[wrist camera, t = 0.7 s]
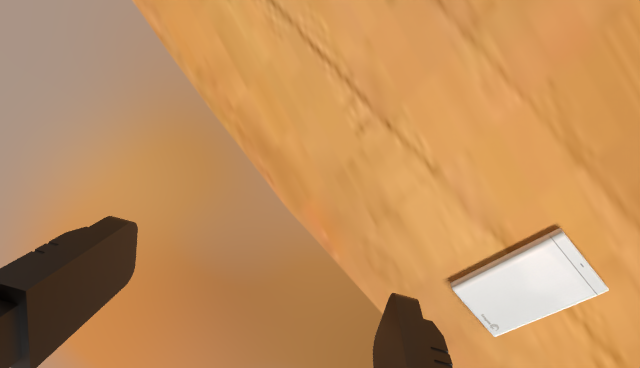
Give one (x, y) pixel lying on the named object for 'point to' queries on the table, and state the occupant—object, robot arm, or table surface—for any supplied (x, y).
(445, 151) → the table surface
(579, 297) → the hard drive
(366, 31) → the table surface
